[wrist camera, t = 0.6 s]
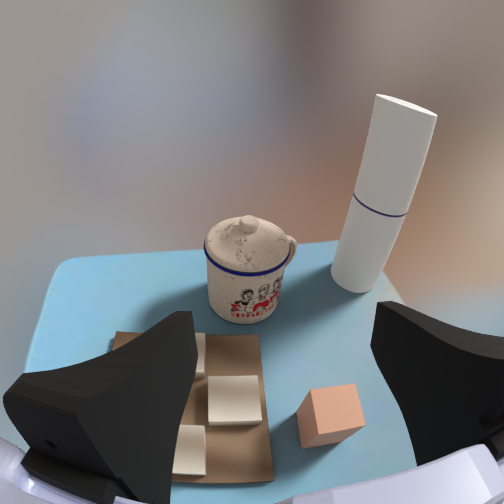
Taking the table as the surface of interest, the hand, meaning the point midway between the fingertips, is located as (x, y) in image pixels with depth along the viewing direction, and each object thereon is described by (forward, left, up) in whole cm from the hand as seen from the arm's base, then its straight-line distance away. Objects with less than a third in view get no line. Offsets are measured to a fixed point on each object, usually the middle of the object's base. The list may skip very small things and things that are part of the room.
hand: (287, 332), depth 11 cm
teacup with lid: (+19, -1, -19) cm, 26 cm away
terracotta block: (+1, -6, -19) cm, 20 cm away
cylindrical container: (+22, -16, -19) cm, 33 cm away
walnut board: (+4, +7, -19) cm, 20 cm away
